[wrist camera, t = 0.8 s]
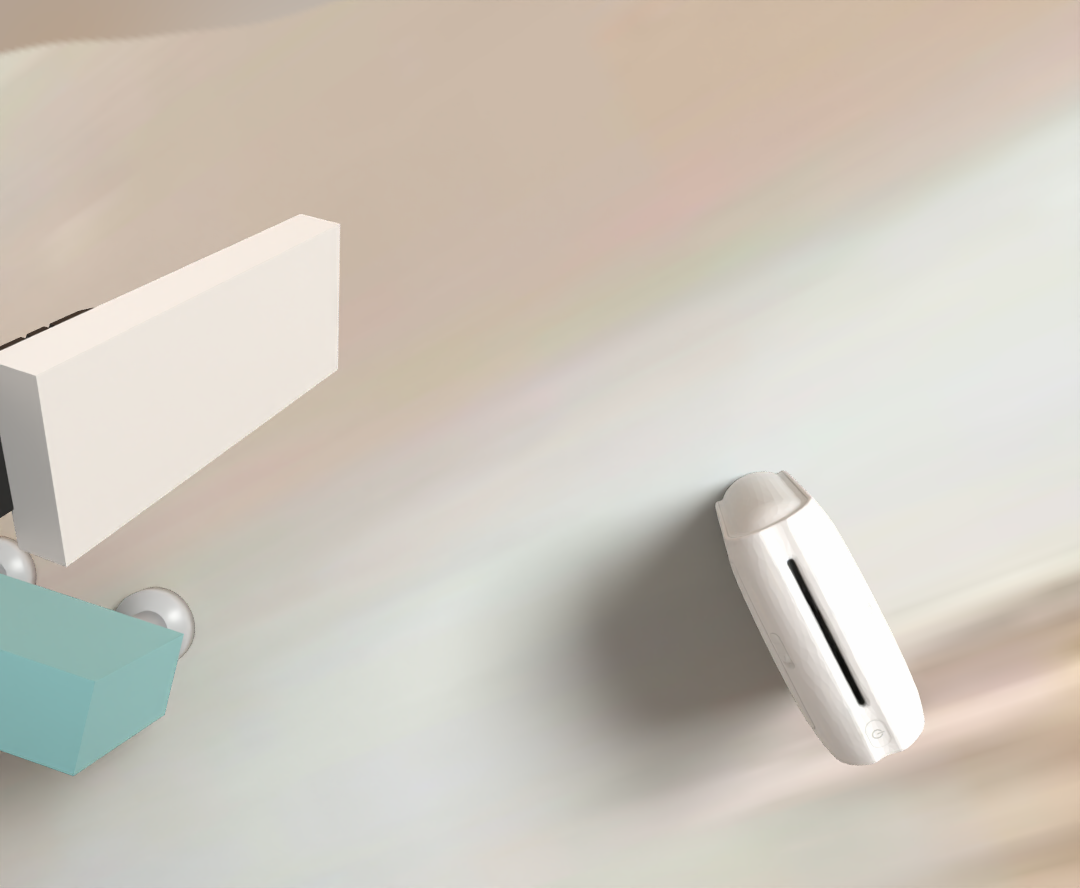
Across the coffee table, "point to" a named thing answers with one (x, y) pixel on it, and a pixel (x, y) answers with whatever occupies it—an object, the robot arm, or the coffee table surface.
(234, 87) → the coffee table surface
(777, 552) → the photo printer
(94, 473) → the robot arm
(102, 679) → the block with headed pegs
